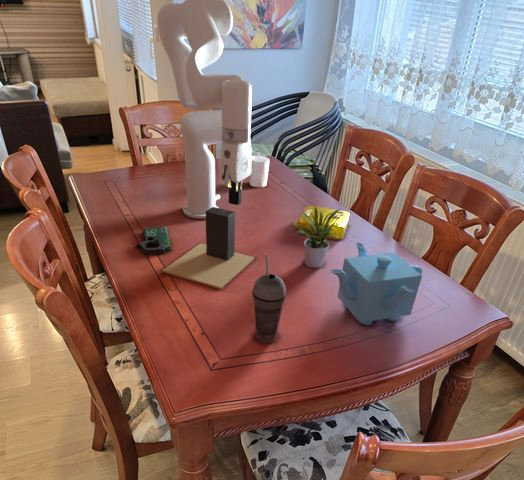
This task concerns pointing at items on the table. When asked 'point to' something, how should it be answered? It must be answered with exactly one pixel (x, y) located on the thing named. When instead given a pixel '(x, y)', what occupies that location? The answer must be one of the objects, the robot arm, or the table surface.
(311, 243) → the house plant
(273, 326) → the beverage cup
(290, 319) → the table surface
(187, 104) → the robot arm
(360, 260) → the teakettle
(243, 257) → the cork mat
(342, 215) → the yellow package
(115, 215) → the table surface
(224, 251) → the black device
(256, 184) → the white cup
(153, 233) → the gun
